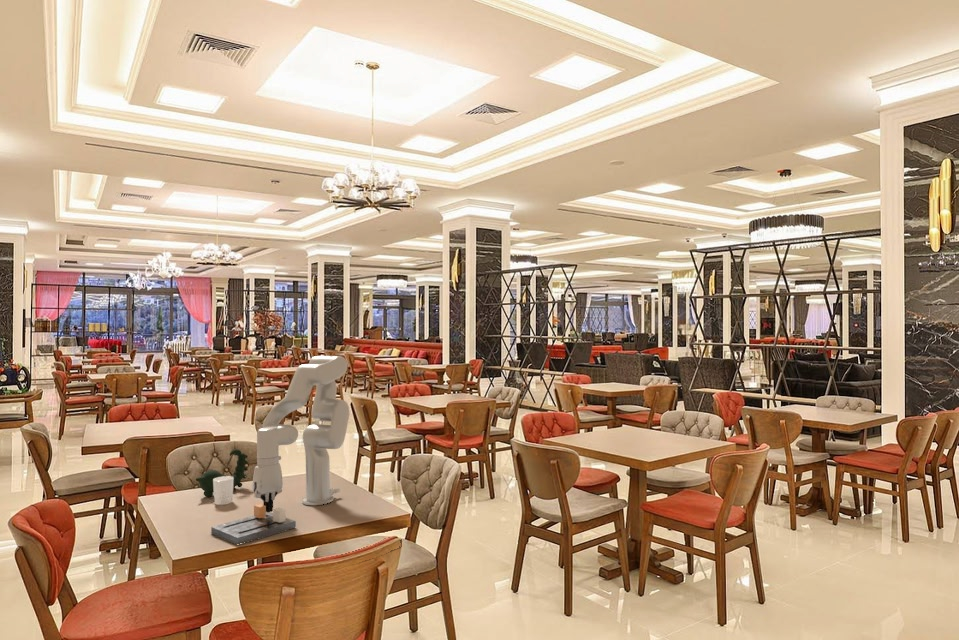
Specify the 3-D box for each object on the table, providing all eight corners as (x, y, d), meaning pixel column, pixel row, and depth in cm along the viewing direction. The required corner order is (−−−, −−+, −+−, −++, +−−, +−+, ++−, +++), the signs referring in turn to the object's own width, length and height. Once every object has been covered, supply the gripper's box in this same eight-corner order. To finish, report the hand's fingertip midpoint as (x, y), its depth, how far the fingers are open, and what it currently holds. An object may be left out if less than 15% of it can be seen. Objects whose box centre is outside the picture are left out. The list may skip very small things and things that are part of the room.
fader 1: (260, 517, 229) (259, 503, 229) (265, 519, 226) (265, 505, 226) (254, 519, 227) (253, 505, 227) (259, 521, 224) (259, 507, 224)
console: (268, 518, 234) (268, 511, 234) (295, 528, 222) (295, 520, 222) (211, 534, 217) (211, 526, 217) (237, 545, 205) (237, 537, 205)
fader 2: (279, 521, 224) (279, 507, 224) (285, 523, 221) (285, 509, 221) (273, 523, 222) (273, 509, 222) (279, 525, 219) (279, 511, 219)
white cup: (237, 500, 259) (237, 476, 259) (227, 505, 251) (227, 481, 251) (219, 499, 260) (219, 476, 260) (209, 505, 252) (209, 480, 252)
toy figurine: (236, 489, 283) (187, 498, 261) (238, 447, 284) (190, 452, 263) (250, 491, 278) (201, 501, 257) (253, 449, 280) (204, 454, 258)
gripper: (280, 456, 238) (280, 504, 237) (243, 463, 226) (244, 514, 226) (291, 459, 233) (291, 508, 233) (254, 466, 221) (255, 518, 221)
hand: (268, 511), depth 229 cm, fingers closed
